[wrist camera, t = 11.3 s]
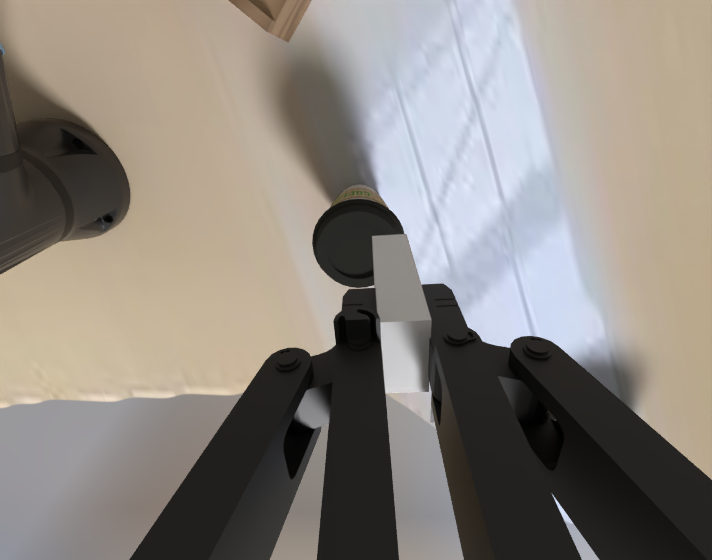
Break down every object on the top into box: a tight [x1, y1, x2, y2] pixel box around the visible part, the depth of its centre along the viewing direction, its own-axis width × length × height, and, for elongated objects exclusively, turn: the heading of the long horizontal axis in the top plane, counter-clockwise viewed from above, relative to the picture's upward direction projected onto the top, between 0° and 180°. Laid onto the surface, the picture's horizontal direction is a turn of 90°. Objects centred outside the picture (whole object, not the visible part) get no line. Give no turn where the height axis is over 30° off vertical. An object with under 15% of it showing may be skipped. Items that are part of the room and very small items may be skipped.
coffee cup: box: [312, 184, 404, 288], centre depth 44 cm, size 10×10×15 cm
